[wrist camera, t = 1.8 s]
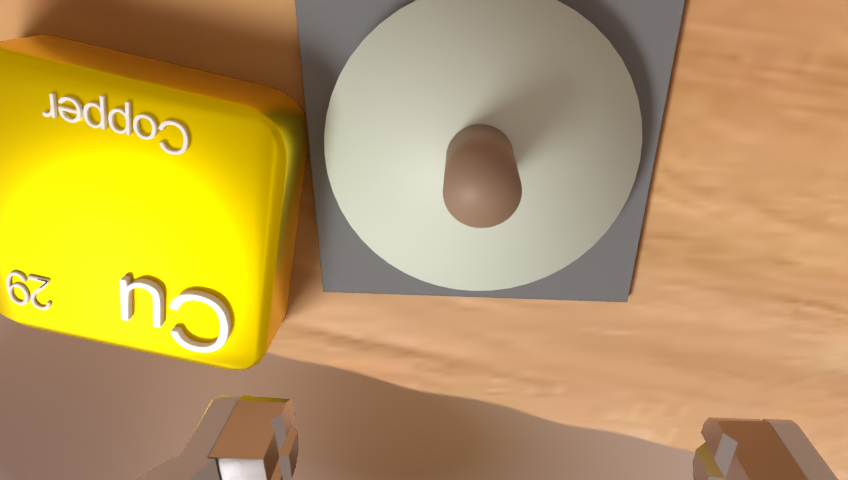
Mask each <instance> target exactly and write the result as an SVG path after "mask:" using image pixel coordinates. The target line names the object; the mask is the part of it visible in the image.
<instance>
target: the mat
mask: <svg viewBox="0 0 848 480" xmlns="http://www.w3.org/2000/svg"><path fill="white" fill-rule="evenodd" d="M413 1H415V0H295V6H296V16H297V26H298V36H299V47H300V57H301V67H302V77H303V88H304V98H305V108H306V118H307V129H308V139H309V149H310V159H311V170H312V180H313V190H314V200H315V211H316V221H317V231H318V241H319V252H320V262H321V272H322V282H323V292H343V293H372V294H401V295H430V296H460V297H489V298H518V299H547V300H577V301H606V302H627V300H628V295H629V290H630V285H631V279H632V274H633V269H634V264H635V259H636V253H637V248H638V243H639V238H640V232H641V227H642V222H643V217H644V212H645V206H646V201H647V196H648V191H649V185H650V180H651V175H652V170H653V164H654V159H655V154H656V149H657V144H658V138H659V133H660V128H661V123H662V117H663V112H664V107H665V102H666V97H667V91H668V86H669V81H670V76H671V70H672V65H673V60H674V55H675V49H676V44H677V39H678V34H679V29H680V23H681V18H682V13H683V8H684V2H685V0H558V1H559V2H561V3H563V4H565V5H566V6H568V7H570V8H572V9H574V10H575V11H577V12H578V13H579V14H581V15H582V16H583V17H585V18H586V19H587V20H588V21H590V22H591V23H592V24H594V25H595V27H596V28H597V29H598V30H599V31H600V32H601V33H602V34H603V35H604V36H605V37H606V38H607V39H608V40H609V41H610V43H611V44H612V46H613V47H614V48H615V50H616V51H617V53H618V54H619V55H620V57H621V58H622V60H623V62H624V64H625V66H626V68H627V70H628V72H629V74H630V76H631V78H632V81H633V84H634V87H635V90H636V93H637V96H638V100H639V106H640V112H641V118H642V148H641V157H640V163H639V167H638V171H637V175H636V179H635V182H634V184H633V187H632V189H631V192H630V194H629V197H628V199H627V201H626V203H625V204H624V206H623V208H622V210H621V212H620V213H619V215H618V217H617V218H616V219H615V221H614V222H613V224H612V225H611V226H610V228H609V229H608V230H607V232H606V233H605V234H604V235H603V236H602V237H601V238H600V239H599V240H598V241H597V242H596V243H595V245H594V246H592V247H591V248H590V249H589V250H588V251H586V252H585V253H584V254H583V255H582V256H581V257H579V258H578V259H576V260H575V261H573V262H572V263H570V264H569V265H567V266H566V267H564V268H563V269H561V270H559V271H557V272H555V273H553V274H551V275H549V276H547V277H545V278H542V279H539V280H537V281H534V282H531V283H529V284H525V285H521V286H517V287H513V288H507V289H500V290H492V291H469V290H457V289H451V288H447V287H442V286H437V285H434V284H431V283H428V282H425V281H422V280H419V279H417V278H415V277H413V276H410V275H408V274H406V273H404V272H402V271H400V270H399V269H397V268H396V267H394V266H392V265H391V264H389V263H388V262H386V261H385V260H384V259H382V258H381V257H380V256H379V255H377V254H376V253H375V252H374V251H373V250H372V249H371V248H370V247H369V246H368V245H367V244H366V243H365V242H363V241H362V240H361V238H360V237H359V236H358V234H357V233H356V232H355V231H354V229H353V228H352V227H351V226H350V224H349V222H348V221H347V219H346V218H345V216H344V214H343V213H342V211H341V209H340V207H339V205H338V202H337V200H336V198H335V196H334V193H333V191H332V187H331V184H330V180H329V177H328V174H327V167H326V161H325V153H324V132H325V123H326V115H327V111H328V107H329V103H330V99H331V95H332V92H333V90H334V88H335V85H336V83H337V80H338V78H339V75H340V74H341V72H342V70H343V68H344V67H345V65H346V63H347V61H348V60H349V58H350V56H351V55H352V54H353V53H354V51H355V50H356V49H357V47H358V46H359V45H360V43H361V42H362V41H363V40H364V39H365V38H366V37H367V36H368V35H369V34H370V33H371V32H372V31H373V30H374V29H375V28H376V27H377V26H378V25H379V24H380V23H381V22H383V21H384V20H385V19H387V18H388V17H390V16H391V15H392V14H394V13H395V12H396V11H398V10H399V9H400V8H402V7H404V6H406V5H408V4H410V3H411V2H413Z"/></svg>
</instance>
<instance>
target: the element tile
mask: <svg viewBox="0 0 848 480" xmlns="http://www.w3.org/2000/svg"><path fill="white" fill-rule="evenodd" d="M307 147H308V129H307V122H306V118H305V115H304V112H303V111H302V109H301V108H300V107H299V105H298V104H297V102H296V101H295V100H294V99H292V98H291V97H289V96H288V95H286V94H285V93H283V92H282V91H279V90H277V89H274V88H272V87H269V86H265V85H261V84H256V83H252V82H248V81H244V80H239V79H235V78H231V77H227V76H222V75H218V74H214V73H210V72H205V71H201V70H197V69H193V68H188V67H184V66H180V65H175V64H171V63H167V62H163V61H158V60H154V59H150V58H146V57H141V56H137V55H133V54H129V53H124V52H120V51H116V50H112V49H107V48H103V47H99V46H94V45H90V44H86V43H82V42H77V41H73V40H69V39H65V38H60V37H56V36H51V35H36V36H30V37H24V38H18V39H12V40H7V41H1V42H0V313H1V314H2V315H4V316H6V317H8V318H10V319H12V320H14V321H16V322H18V323H20V324H22V325H25V326H28V327H31V328H35V329H40V330H45V331H49V332H54V333H58V334H63V335H68V336H72V337H77V338H82V339H86V340H91V341H96V342H100V343H105V344H110V345H114V346H119V347H123V348H128V349H133V350H137V351H142V352H146V353H151V354H156V355H160V356H165V357H170V358H174V359H179V360H183V361H188V362H193V363H198V364H202V365H207V366H211V367H216V368H220V369H227V370H244V369H249V368H251V367H253V366H255V365H257V364H258V363H259V362H260V361H261V359H262V358H263V357H264V355H265V354H266V352H267V350H268V348H269V346H270V344H271V342H272V340H273V338H274V337H275V335H276V333H277V331H278V329H279V327H280V325H281V323H282V321H283V319H284V317H285V315H286V312H287V306H288V298H289V290H290V282H291V274H292V266H293V258H294V250H295V242H296V234H297V227H298V219H299V211H300V203H301V195H302V187H303V179H304V171H305V163H306V155H307Z"/></svg>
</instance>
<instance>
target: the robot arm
mask: <svg viewBox="0 0 848 480" xmlns="http://www.w3.org/2000/svg"><path fill="white" fill-rule="evenodd" d="M294 416H295V411H294V405H293V401H292V400H290V399H281V398H280V399H279V398H266V397H251V396H229V395H218V396H216V397H215V398H214V399H213V400H212V401H211V403H210V404H209V406H208V408H207V410H206V411H205V413H204V415H203V417H202V418H201V420H200V422H199V423H198V425H197V427H196V429H195V430H194V432H193V434H192V436H191V437H190V439H189V441H188V442H187V444H186V446H185V448H184V450H183V451H182V453H181V455H180V456H179V457H170V458H169V459H168V460H166V461H165V462H163V463H162V464H160V465H158V466H157V467H155V468H154V469H153V470H151V471H149V472H148V473H146V474H145V475H143V476H142V477H140V478H139V479H137V480H291V479H292V477H293V474H294V471H295V468H296V463H297V457H298V432H297V430H296V429H295V428H294V427H293V426H292V425H291V424H292V421H293V418H294ZM701 433H702V435H703V437H704V439H705V441H706V442H705V443H704V444H703V445H701V446H700V447H699V448H697V449H696V451H695V456H694V460H693V477H694V480H838V479H837V477H836V476H835V475H834V473H833V472H832V471H831V469H830V468H829V467H828V465H827V464H826V463H825V461H824V460H823V458H822V457H821V456H820V454H819V453H818V452H817V450H816V449H815V448H814V446H813V445H812V444H811V442H810V441H809V439H808V438H807V437H806V435H805V434H804V433H803V431H802V430H801V429H800V427H799V426H798V425H797V424H796V423H794V422H793V421H791V420H774V419H763V420H760V419H737V418H708V419H707V420H706V421H705V422H704V425H703V428H702V431H701Z"/></svg>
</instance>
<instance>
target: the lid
mask: <svg viewBox="0 0 848 480" xmlns="http://www.w3.org/2000/svg"><path fill="white" fill-rule="evenodd" d="M641 148H642V118H641V112H640V106H639V100H638V96H637V93H636V90H635V87H634V84H633V81H632V78H631V76H630V74H629V72H628V70H627V68H626V66H625V64H624V62H623V60H622V58H621V57H620V55H619V54H618V53H617V51H616V50H615V48H614V47H613V46H612V44H611V43H610V41H609V40H608V39H607V38H606V37H605V36H604V35H603V34H602V33H601V32H600V31H599V30H598V29H597V28H596V27H595V25H594V24H592V23H591V22H590V21H588V20H587V19H586V18H585V17H583V16H582V15H581V14H579V13H578V12H577V11H575V10H574V9H572V8H570V7H568V6H566V5H565V4H563V3H561V2H559V1H558V0H415V1H413V2H411V3H410V4H408V5H406V6H404V7H402V8H400V9H399V10H398V11H396V12H395V13H394V14H392V15H391V16H390V17H388V18H387V19H385V20H384V21H383V22H381V23H380V24H379V25H378V26H377V27H376V28H375V29H374V30H373V31H372V32H371V33H370V34H369V35H368V36H367V37H366V38H365V39H364V40H363V41H362V42H361V43H360V45H359V46H358V47H357V49H356V50H355V51H354V53H353V54H352V55H351V56H350V58H349V60H348V61H347V63H346V65H345V67H344V68H343V70H342V72H341V74H340V75H339V78H338V80H337V83H336V85H335V88H334V90H333V92H332V95H331V99H330V103H329V107H328V111H327V115H326V123H325V132H324V153H325V161H326V167H327V174H328V177H329V180H330V184H331V187H332V191H333V193H334V196H335V198H336V200H337V202H338V205H339V207H340V209H341V211H342V213H343V214H344V216H345V218H346V219H347V221H348V222H349V224H350V226H351V227H352V228H353V229H354V231H355V232H356V233H357V234H358V236H359V237H360V238H361V240H362V241H363V242H365V243H366V244H367V245H368V246H369V247H370V248H371V249H372V250H373V251H374V252H375V253H376V254H377V255H379V256H380V257H381V258H382V259H384V260H385V261H386V262H388V263H389V264H391V265H392V266H394V267H396V268H397V269H399V270H400V271H402V272H404V273H406V274H408V275H410V276H413V277H415V278H417V279H419V280H422V281H425V282H428V283H431V284H434V285H437V286H442V287H447V288H451V289H457V290H469V291H492V290H500V289H507V288H513V287H517V286H521V285H525V284H529V283H531V282H534V281H537V280H539V279H542V278H545V277H547V276H549V275H551V274H553V273H555V272H557V271H559V270H561V269H563V268H564V267H566V266H567V265H569V264H570V263H572V262H573V261H575V260H576V259H578V258H579V257H581V256H582V255H583V254H584V253H585V252H586V251H588V250H589V249H590V248H591V247H592V246H594V245H595V243H596V242H597V241H598V240H599V239H600V238H601V237H602V236H603V235H604V234H605V233H606V232H607V230H608V229H609V228H610V226H611V225H612V224H613V222H614V221H615V219H616V218H617V217H618V215H619V213H620V212H621V210H622V208H623V206H624V204H625V203H626V201H627V199H628V197H629V194H630V192H631V189H632V187H633V184H634V182H635V179H636V175H637V171H638V167H639V163H640V157H641Z"/></svg>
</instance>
